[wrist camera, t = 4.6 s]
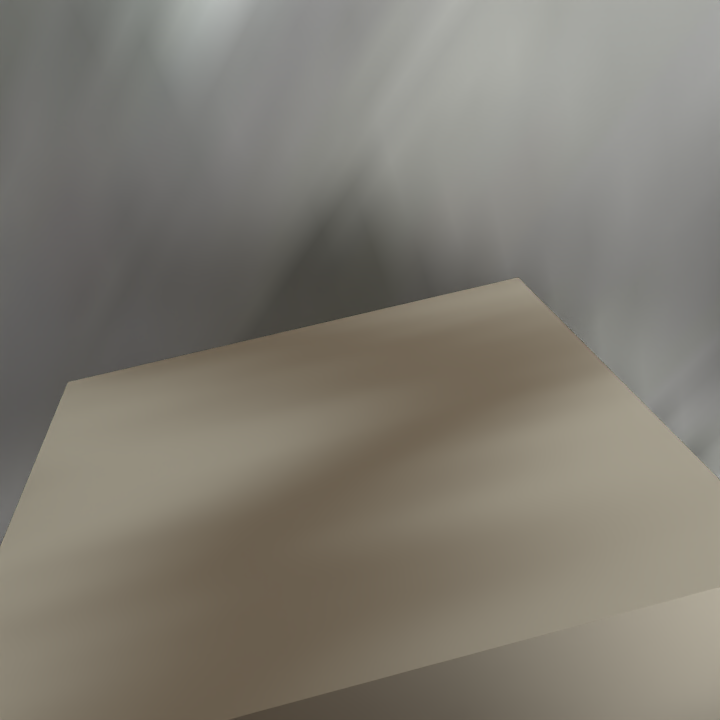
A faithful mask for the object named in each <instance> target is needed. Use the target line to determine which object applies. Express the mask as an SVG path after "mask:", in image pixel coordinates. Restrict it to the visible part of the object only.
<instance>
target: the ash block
mask: <svg viewBox="0 0 720 720" xmlns="http://www.w3.org/2000/svg"><path fill="white" fill-rule="evenodd" d="M0 720H720V480H719V479H718V478H717V477H716V476H715V475H714V474H713V473H712V472H711V471H710V470H709V469H708V468H707V467H706V466H705V464H704V463H703V462H702V461H701V460H700V459H699V458H698V457H697V456H696V455H695V454H694V453H693V452H692V451H691V450H690V449H689V448H688V447H687V446H686V445H685V444H684V443H683V442H682V441H681V440H680V439H679V438H678V437H677V436H676V435H675V434H674V433H673V432H672V431H671V430H670V429H669V428H668V427H667V426H666V425H665V424H664V423H663V422H662V421H661V420H660V419H659V418H658V417H657V416H656V415H655V414H654V413H653V412H652V411H651V410H650V409H649V408H648V407H647V406H646V405H645V404H644V403H643V402H642V401H641V400H640V399H639V398H638V397H637V396H636V395H635V394H634V393H633V392H632V391H631V390H630V389H629V388H628V387H627V386H626V385H625V384H624V383H623V382H622V381H621V380H620V379H619V378H618V377H617V376H616V375H615V374H614V373H613V372H612V371H611V370H610V369H609V368H608V367H607V366H606V365H605V364H604V363H603V362H602V361H601V360H600V359H599V358H598V357H597V356H596V355H595V354H594V353H593V352H592V351H591V350H590V349H589V348H588V347H587V346H586V345H585V344H584V343H583V342H582V341H581V340H580V339H579V338H578V337H577V336H576V335H575V334H574V333H573V332H572V331H571V330H570V329H569V328H568V327H567V326H566V325H565V324H564V323H563V322H562V321H561V320H560V319H559V318H558V317H557V316H556V315H555V314H554V313H553V312H552V311H551V310H550V309H549V308H548V307H547V306H546V305H545V304H544V303H543V302H542V301H541V300H540V299H539V298H538V297H537V296H536V295H535V294H534V293H533V292H532V291H531V290H530V289H529V288H528V287H527V286H526V285H525V284H524V283H523V282H522V281H521V280H520V279H519V278H513V279H509V280H505V281H501V282H496V283H492V284H488V285H483V286H479V287H475V288H470V289H466V290H462V291H458V292H453V293H449V294H445V295H440V296H436V297H432V298H427V299H423V300H419V301H415V302H410V303H406V304H402V305H397V306H393V307H389V308H384V309H380V310H376V311H371V312H367V313H363V314H359V315H354V316H350V317H346V318H341V319H337V320H333V321H328V322H324V323H320V324H316V325H311V326H307V327H303V328H298V329H294V330H290V331H285V332H281V333H277V334H273V335H268V336H264V337H260V338H255V339H251V340H247V341H242V342H238V343H234V344H229V345H225V346H221V347H217V348H212V349H208V350H204V351H199V352H195V353H191V354H186V355H182V356H178V357H174V358H169V359H165V360H161V361H156V362H152V363H148V364H143V365H139V366H135V367H131V368H126V369H122V370H118V371H113V372H109V373H105V374H100V375H96V376H92V377H87V378H83V379H79V380H75V381H70V382H68V383H67V385H66V388H65V390H64V393H63V395H62V397H61V400H60V402H59V405H58V407H57V410H56V412H55V415H54V417H53V419H52V422H51V424H50V427H49V429H48V432H47V434H46V436H45V439H44V441H43V444H42V446H41V449H40V451H39V453H38V456H37V458H36V461H35V463H34V466H33V468H32V470H31V473H30V475H29V478H28V480H27V483H26V485H25V488H24V490H23V492H22V495H21V497H20V500H19V502H18V505H17V507H16V509H15V512H14V514H13V517H12V519H11V522H10V524H9V526H8V529H7V531H6V534H5V536H4V539H3V541H2V543H1V546H0Z"/></svg>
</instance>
